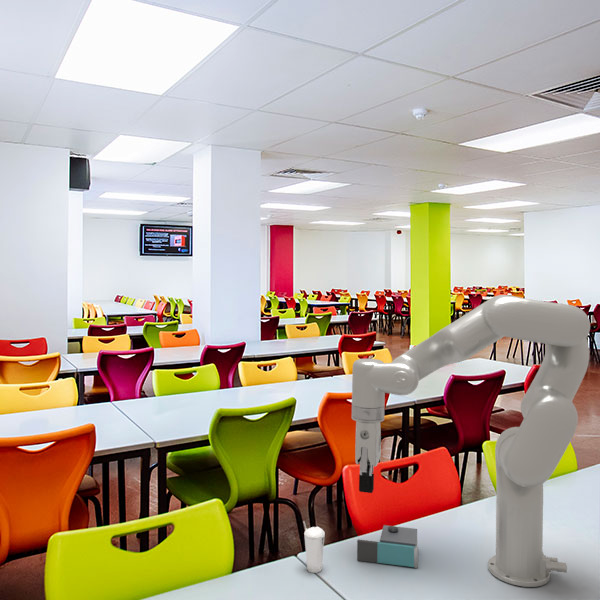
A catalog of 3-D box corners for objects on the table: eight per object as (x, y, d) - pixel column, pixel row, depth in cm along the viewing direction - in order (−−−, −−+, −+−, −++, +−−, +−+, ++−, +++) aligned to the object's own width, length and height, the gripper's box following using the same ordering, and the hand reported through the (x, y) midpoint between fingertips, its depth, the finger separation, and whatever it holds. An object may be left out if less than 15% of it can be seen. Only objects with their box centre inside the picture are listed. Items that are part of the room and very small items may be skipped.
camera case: (417, 549, 131) (417, 526, 131) (415, 566, 123) (415, 541, 123) (383, 545, 133) (383, 522, 133) (379, 561, 125) (379, 537, 125)
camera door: (417, 565, 123) (417, 546, 123) (417, 567, 122) (417, 548, 122) (357, 558, 126) (357, 539, 126) (357, 560, 125) (357, 541, 125)
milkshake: (309, 561, 125) (309, 517, 125) (328, 568, 122) (328, 524, 122) (297, 568, 122) (297, 524, 122) (316, 577, 118) (316, 531, 118)
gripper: (380, 421, 119) (378, 505, 119) (387, 407, 133) (385, 481, 134) (346, 418, 121) (344, 501, 121) (356, 404, 135) (355, 478, 136)
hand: (366, 490), depth 128 cm, fingers closed
